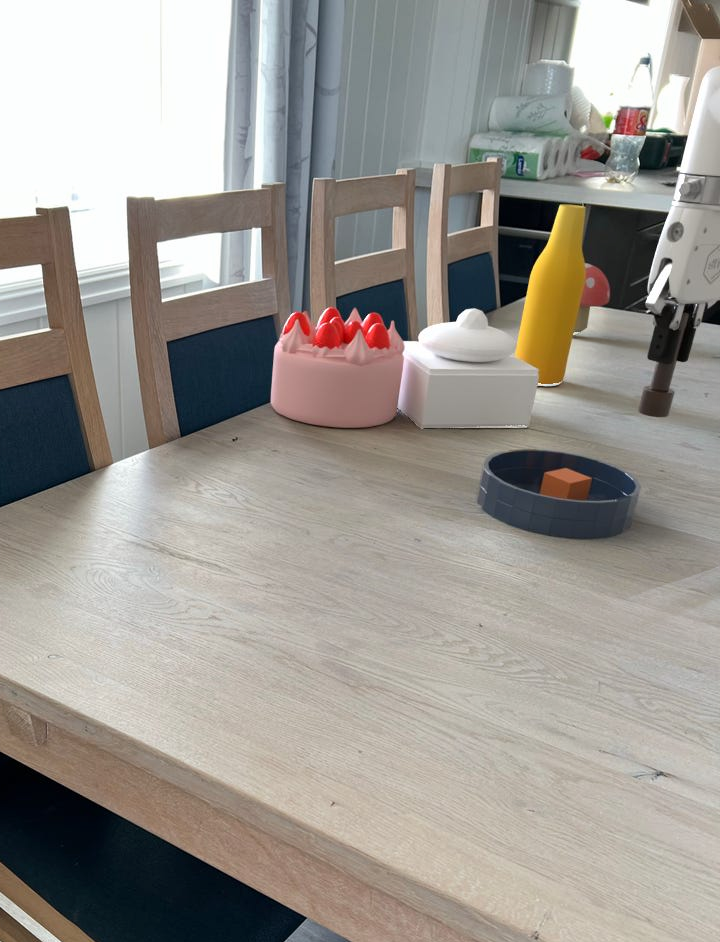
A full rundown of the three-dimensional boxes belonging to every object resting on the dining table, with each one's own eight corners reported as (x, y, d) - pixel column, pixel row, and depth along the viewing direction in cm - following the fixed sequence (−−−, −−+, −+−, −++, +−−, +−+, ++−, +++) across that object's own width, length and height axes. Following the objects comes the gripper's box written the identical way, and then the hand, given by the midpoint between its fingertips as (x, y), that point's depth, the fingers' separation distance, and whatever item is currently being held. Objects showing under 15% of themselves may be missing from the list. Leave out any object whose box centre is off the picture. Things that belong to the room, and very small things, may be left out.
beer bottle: (559, 377, 179) (597, 205, 164) (565, 390, 171) (605, 211, 156) (508, 372, 180) (541, 201, 165) (511, 384, 172) (547, 206, 157)
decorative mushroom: (525, 334, 211) (540, 261, 203) (552, 326, 220) (566, 256, 212) (584, 346, 203) (602, 270, 196) (609, 337, 213) (626, 265, 205)
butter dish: (421, 429, 145) (438, 319, 137) (381, 395, 161) (394, 295, 153) (528, 428, 149) (551, 321, 141) (480, 395, 164) (497, 297, 156)
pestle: (674, 415, 120) (701, 314, 114) (656, 418, 118) (683, 316, 113) (649, 407, 123) (674, 309, 117) (631, 411, 121) (656, 311, 115)
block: (584, 509, 119) (592, 478, 117) (563, 514, 117) (570, 483, 115) (558, 498, 121) (566, 467, 119) (537, 503, 119) (544, 472, 117)
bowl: (661, 526, 117) (672, 487, 114) (561, 555, 108) (572, 513, 105) (543, 477, 130) (551, 441, 127) (445, 499, 120) (452, 461, 118)
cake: (371, 392, 162) (383, 303, 155) (415, 429, 145) (430, 332, 138) (257, 392, 158) (263, 301, 151) (288, 431, 141) (297, 330, 134)
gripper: (698, 197, 102) (653, 374, 111) (781, 197, 110) (733, 362, 119) (637, 190, 107) (599, 359, 116) (720, 190, 115) (679, 349, 124)
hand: (667, 359), depth 117 cm, fingers closed on pestle, 2 cm apart
